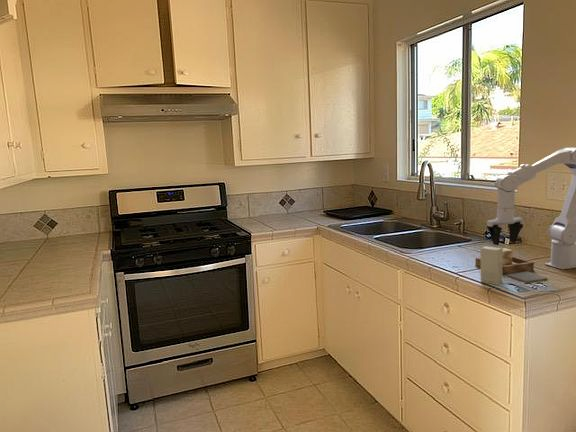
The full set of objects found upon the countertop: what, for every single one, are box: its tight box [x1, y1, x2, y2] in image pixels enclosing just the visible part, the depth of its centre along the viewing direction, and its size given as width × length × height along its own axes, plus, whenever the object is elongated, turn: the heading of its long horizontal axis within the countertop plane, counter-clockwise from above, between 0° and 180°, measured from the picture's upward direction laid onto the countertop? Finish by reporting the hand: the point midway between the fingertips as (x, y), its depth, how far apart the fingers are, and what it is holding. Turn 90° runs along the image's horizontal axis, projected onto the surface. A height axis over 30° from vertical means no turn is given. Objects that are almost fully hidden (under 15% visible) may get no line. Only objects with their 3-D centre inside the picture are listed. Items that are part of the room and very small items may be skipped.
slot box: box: [474, 255, 535, 276], centre depth 170 cm, size 14×14×3 cm
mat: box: [505, 271, 548, 284], centre depth 157 cm, size 9×9×1 cm
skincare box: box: [480, 245, 503, 286], centre depth 153 cm, size 6×4×12 cm
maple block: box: [501, 247, 514, 265], centre depth 169 cm, size 4×4×5 cm
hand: (504, 243), depth 169 cm, fingers open, 7 cm apart
